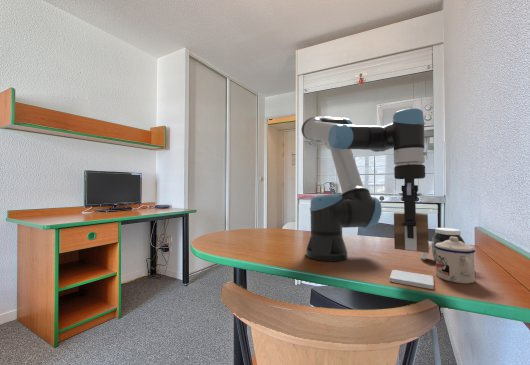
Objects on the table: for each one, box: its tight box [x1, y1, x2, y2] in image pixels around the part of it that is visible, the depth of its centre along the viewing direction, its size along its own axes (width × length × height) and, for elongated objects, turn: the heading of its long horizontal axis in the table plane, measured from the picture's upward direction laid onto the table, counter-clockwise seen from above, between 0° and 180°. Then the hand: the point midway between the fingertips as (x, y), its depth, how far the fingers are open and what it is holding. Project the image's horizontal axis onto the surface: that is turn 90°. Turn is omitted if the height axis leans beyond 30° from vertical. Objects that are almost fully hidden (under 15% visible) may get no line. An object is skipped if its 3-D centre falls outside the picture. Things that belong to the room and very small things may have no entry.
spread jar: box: [420, 227, 466, 263], centre depth 84 cm, size 12×11×12 cm
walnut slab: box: [393, 211, 430, 254], centre depth 68 cm, size 4×8×10 cm, turn 57°
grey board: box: [389, 269, 435, 290], centre depth 68 cm, size 10×8×1 cm
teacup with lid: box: [435, 237, 476, 285], centre depth 68 cm, size 12×9×12 cm
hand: (411, 248), depth 68 cm, fingers closed on walnut slab, 4 cm apart
